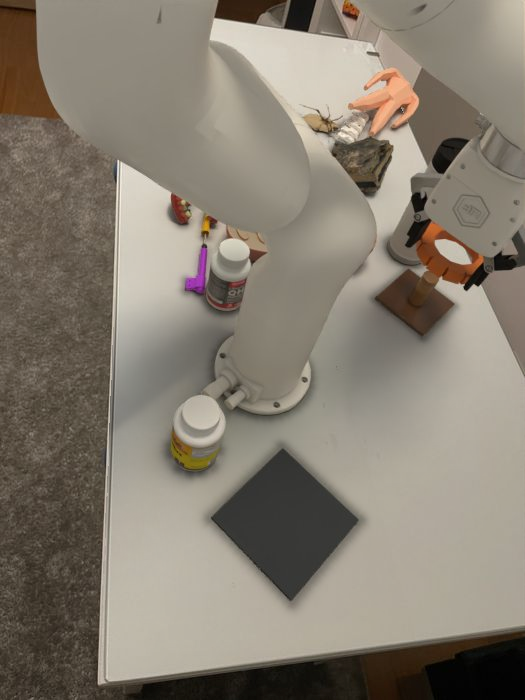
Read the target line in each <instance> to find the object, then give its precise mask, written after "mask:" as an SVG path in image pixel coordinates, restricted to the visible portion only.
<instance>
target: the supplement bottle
mask: <svg viewBox="0 0 525 700" xmlns="http://www.w3.org/2000/svg"><path fill="white" fill-rule="evenodd" d="M226 422H227V421H226V416H225V414H224V412H223V410H222V409H221V406H220V405H219V403H218V402H217V401H216V400H214V399H212V398H211V397H209V396H205V395H202V394H196V395H193V396H191V397H189V398H188V399H186V401H184V402H183V403H181V404H180V405H179V407H178V408H177V409H176V411H175V413H174V416H173V419H172V427H171V428H172V429H171V438H170V454H171V457H172V459H173V462H175V464H176V465H177V466H178V467H180V468H181V469H183V470H185V471H188V472H200V471H203V470H204V471H205V470H206V469H208V468H210V467H211V466H212V465H213V464H214V463H215V461H216V460H217V457H218V455H219V451H220V448H221V445H222V441H223V437H224V434H225V431H226V425H227V423H226Z"/></svg>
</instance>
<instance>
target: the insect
mask: <svg viewBox="0 0 525 700" xmlns="http://www.w3.org/2000/svg"><path fill="white" fill-rule="evenodd" d="M298 106H302V107H303V108H307V109H311V110H314V111H316V112H317V113H308V114H304V116H301V117H302V118H303V119H304V120H305V121H306V123H307V124H308V125H309V126H310V128H311V129H312V130H313V131H315V132H318V131H321V132H323V133H328V134H330V137H332V134H336V136H337V134H338V133H339V132H340V129H339V128H340V125H339V124H337V123H336V121H339V120H340V119H341V118H343V116H344V114H341V115H340V116H339V117H337V118H334V119H330V118H331V114H330V109H329V105H328V104H327V103H326V108H327V113H328V116H327V117H326V116H323V115H322V112H321V111H320V110H319V109H317V108H313V107H310V106H307V105H303V104H301V103H299V104H298ZM344 125H345V124H344V123H343V124H342V126H344ZM334 130H335V131H334ZM336 130H338V131H336Z"/></svg>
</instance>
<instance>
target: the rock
mask: <svg viewBox="0 0 525 700" xmlns="http://www.w3.org/2000/svg"><path fill="white" fill-rule="evenodd" d="M344 145H345V146H343V147H340V148H339V149H338V151H337V156H336V157H335V159H336V160H337V161H338V162H339V163H340V165H341V166H342V167H343V168H344V170H345V171H346V172H347V173H348V175H349V176H350V177H351V178H352V180H353V181H354V182H355V184H356V185H357V186H358V187H359V189H360V190H361V192H362V193H370V192H375V191H378V190H379V189H381V187H382V183H383V181H384V178H385V176H386V173H387V170H388V168H389V166H390V164H391V162H392V160H393V155H392V154H393V152H394V149H395V148H394V147H395V146H394V144H391V143H390V140H389V139H377V138H374V137H371V136H369V135H368V137H366V138H363V139H360V140H356V141H355V142H353V143H351V144H344Z"/></svg>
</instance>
